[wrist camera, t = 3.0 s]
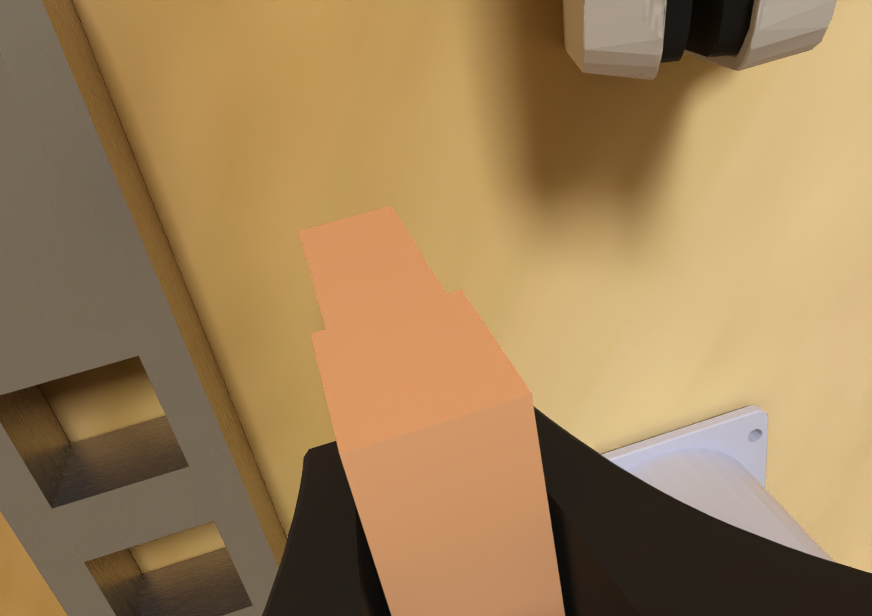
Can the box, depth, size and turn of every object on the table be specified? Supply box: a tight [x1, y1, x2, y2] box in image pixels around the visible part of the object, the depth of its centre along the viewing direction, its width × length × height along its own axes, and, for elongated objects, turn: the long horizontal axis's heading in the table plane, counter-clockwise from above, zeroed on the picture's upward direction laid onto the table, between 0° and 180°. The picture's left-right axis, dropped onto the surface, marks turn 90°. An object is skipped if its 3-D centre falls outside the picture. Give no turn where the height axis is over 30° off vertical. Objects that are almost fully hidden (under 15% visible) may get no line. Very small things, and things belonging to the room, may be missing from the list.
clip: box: [299, 206, 565, 616], centre depth 12 cm, size 7×2×6 cm, turn 10°
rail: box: [0, 0, 287, 616], centre depth 19 cm, size 24×5×2 cm, turn 10°
